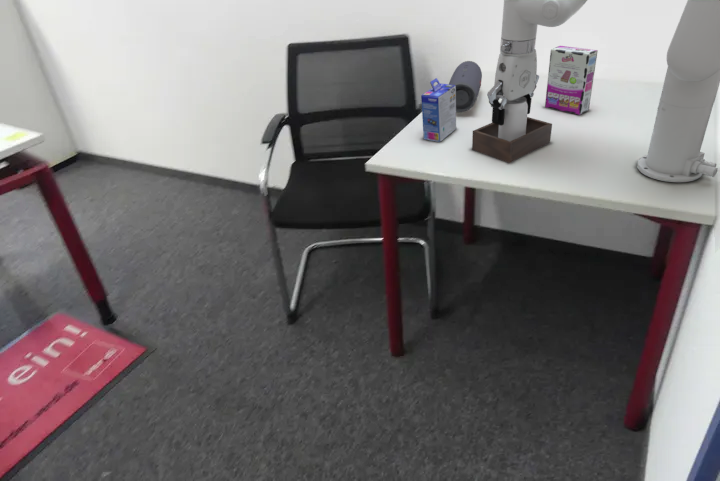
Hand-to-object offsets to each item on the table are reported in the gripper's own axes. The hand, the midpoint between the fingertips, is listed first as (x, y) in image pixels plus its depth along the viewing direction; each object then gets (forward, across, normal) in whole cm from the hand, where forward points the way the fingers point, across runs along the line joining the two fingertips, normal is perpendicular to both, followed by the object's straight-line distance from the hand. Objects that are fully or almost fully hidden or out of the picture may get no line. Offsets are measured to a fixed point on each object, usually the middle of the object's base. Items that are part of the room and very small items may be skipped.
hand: (510, 118), depth 130 cm
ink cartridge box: (+8, -6, +18) cm, 21 cm away
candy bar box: (+7, +30, +4) cm, 31 cm away
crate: (+7, 0, -1) cm, 7 cm away
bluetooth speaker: (+8, +16, +30) cm, 35 cm away
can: (+7, 0, -1) cm, 8 cm away
